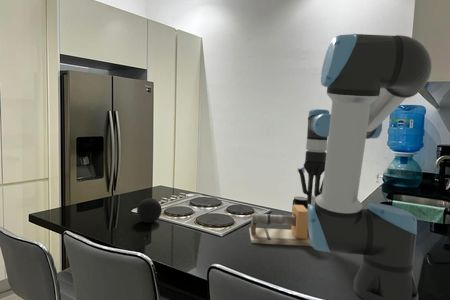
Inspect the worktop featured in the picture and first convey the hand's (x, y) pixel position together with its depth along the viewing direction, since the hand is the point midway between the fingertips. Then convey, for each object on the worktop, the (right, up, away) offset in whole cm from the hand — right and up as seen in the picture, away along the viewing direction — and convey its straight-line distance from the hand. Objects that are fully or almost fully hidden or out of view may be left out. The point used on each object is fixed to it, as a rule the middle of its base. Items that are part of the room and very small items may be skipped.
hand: (311, 212), depth 126 cm
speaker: (-65, -7, +12) cm, 66 cm away
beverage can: (-1, -9, +19) cm, 21 cm away
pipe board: (-12, -10, +1) cm, 15 cm away
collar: (-5, -8, +1) cm, 9 cm away
